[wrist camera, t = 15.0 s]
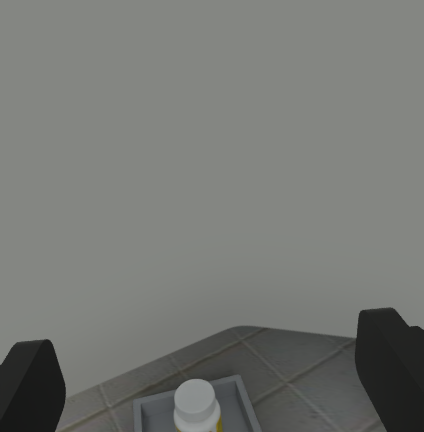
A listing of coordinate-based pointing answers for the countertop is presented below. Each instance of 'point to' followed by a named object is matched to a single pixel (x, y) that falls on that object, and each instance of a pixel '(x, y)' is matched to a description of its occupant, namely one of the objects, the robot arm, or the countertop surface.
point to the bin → (224, 393)
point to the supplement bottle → (196, 408)
